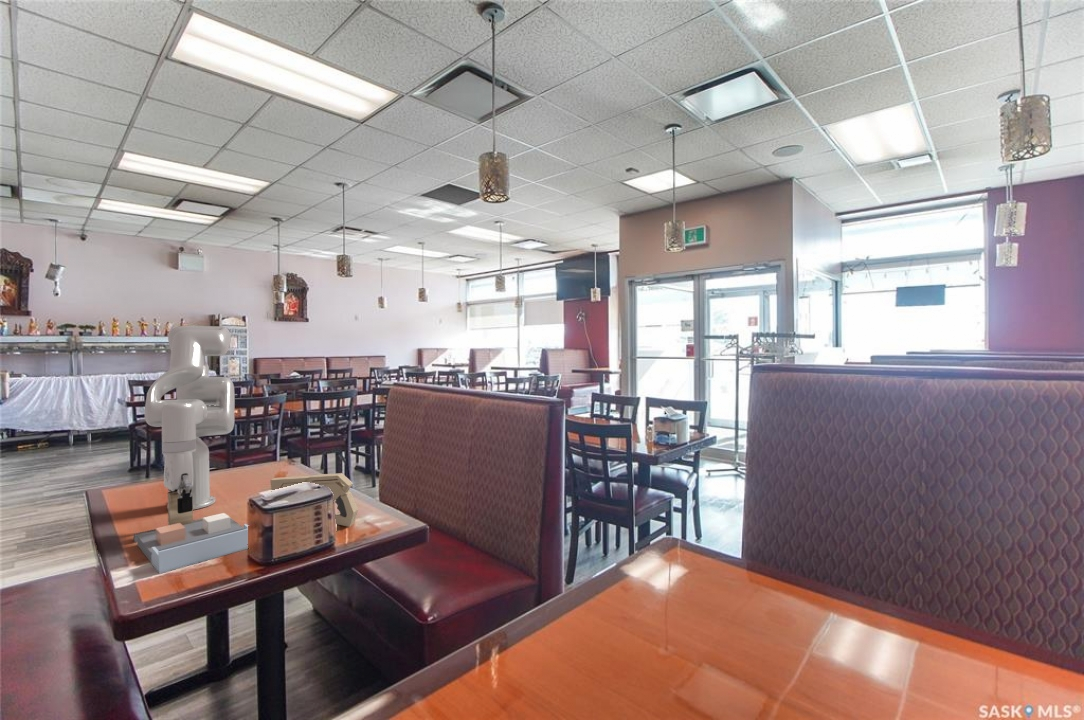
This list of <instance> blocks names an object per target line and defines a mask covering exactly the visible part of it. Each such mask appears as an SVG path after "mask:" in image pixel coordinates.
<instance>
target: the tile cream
mask: <svg viewBox="0 0 1084 720" xmlns="http://www.w3.org/2000/svg"><path fill="white" fill-rule="evenodd" d="M202 518H203V529H204V530H205V531H206V532H207V533H208V534H209V533H213V532H217V531H221V530H225V529H229V528H230V518H231V517H230V515H228V514H227V513H225V512H222V513H217V514H212V515H209V516H204V517H202Z"/></svg>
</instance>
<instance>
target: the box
mask: <svg viewBox="0 0 1084 720" xmlns="http://www.w3.org/2000/svg"><path fill="white" fill-rule="evenodd" d="M248 526H249V525H248V524H247V523H244V524H243V527H244V530H240V531H236V532H232V533H228V534H224V535H220V536H217V537H213V538H209V539H205V540H201V541H197V542H193V543H189V544H185V545H181V546H177V547H174V548H170V549H166V550H162V551H158V550H157V549H156V547H152V555H151V562H150V563H151V565H152V566H153V568H154V569H155V570H156V572H157V573H158V574H164V573H167V572H171V571H174V570H177V569H181V568H185V567H189V566H193V565H197V564H199V563H203V562H205V561H209V560H214V559H217V558H221V557H223V556H227V555H231V554H234V553H237V552H241V551H244V550H248V545H247V544H248Z"/></svg>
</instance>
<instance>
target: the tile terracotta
mask: <svg viewBox="0 0 1084 720" xmlns="http://www.w3.org/2000/svg"><path fill="white" fill-rule="evenodd" d="M155 529H156V541H157V542H158V543H159V544H160V545H165V544H169V543H173V542H177V541H181V540H185V527H184V526H183V525H182V524H181V523H177V524H172V525H168V524H167V525H165V526H160V527H156V528H155Z"/></svg>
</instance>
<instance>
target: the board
mask: <svg viewBox="0 0 1084 720" xmlns="http://www.w3.org/2000/svg"><path fill="white" fill-rule="evenodd" d="M183 526H184V527H185V540H181V541H177V542H173V543H169V544H165V545H160V544H159V543H158V542H157V541H156V531H155V532H151V533H147V534H142V535H138V536H137V547H138V548H139V549H140V550H141V552H142V553H143V554H144V556H145V557H146V558H147V559H148V561H149V562H150V563H151V555H152V547H156V549H157V550H158V551H162V550H166V549H170V548H174V547H177V546H181V545H185V544H189V543H193V542H197V541H201V540H205V539H209V538H213V537H217V536H220V535H224V534H228V533H232V532H236V531H240V530H244V526H243V525H241V524H239V523H238V522H236V521H235V520H234V519H233V518H231V517H230V528H229V529H225V530H221V531H217V532H213V533H209V534H208V533H207V532H206V531H205V530H204V529H203V521H199V522H194V523H190V524H186V525H183Z"/></svg>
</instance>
